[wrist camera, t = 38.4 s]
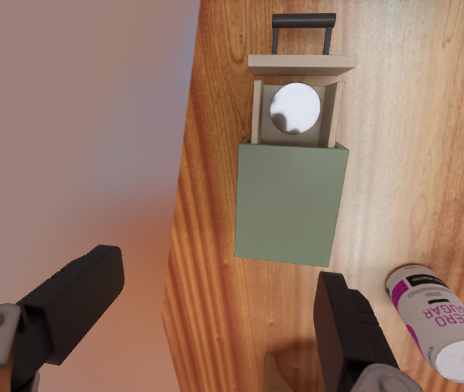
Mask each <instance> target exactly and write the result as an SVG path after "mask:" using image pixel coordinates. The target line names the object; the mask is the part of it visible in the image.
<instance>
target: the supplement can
mask: <svg viewBox="0 0 464 392" xmlns="http://www.w3.org/2000/svg"><path fill="white" fill-rule="evenodd" d="M386 291H387V294H388V296H389V298H390V299H391V301H392V303H393V305H394V306H395V308H396V310H397V312H398V313H399V315H400V317H401V319H402V320H403V322H404V324H405V326H406V327H407V329H408V331H409V332H410V334H411V336H412V338H413V339H414V341H415V343H416V345H417V346H418V348H419V350H420V352H421V353H422V355H423V357H424V358H425V360H426V362H427V363H428V364H429V365H430V366H431V367H432V368H433V369H435V370H436V371H438V372H439V373H440V374H441V375H442V376H443V377H445V378H447V379H449V380H451V381H454V382H459V383H464V304H463V303H462V302H461V301H460V300H459V299H458V297H457V296H456V295H455V294H454V293H453V292H452V291H451V290H450V289H449V288H448V287H447V286H446V285H445V283H444V282H443V281H442V280H441V279H440V278H439V277H438V276H437V275H436V274H435V273H434V272H433V271H432V270H430V269H428V268H426V267H424V266H418V265H412V266H405V267H403V268H400V269H398V270H396V271H395V272H394V273H393V274H391V275H390V277H389V279H388V280H387V283H386Z"/></svg>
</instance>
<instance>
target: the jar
mask: <svg viewBox="0 0 464 392" xmlns="http://www.w3.org/2000/svg"><path fill="white" fill-rule="evenodd" d="M320 112H321V101H320V98H319V95H318V93H317V92H316V91H315V89H314V88H312V87H311V86H310V85H308V84H306V83H302V82H292V83H289V84H286V85H284V86H283V87H281V88H280V89H279V90H278V91H277V92H276V93H275V95H274V96H273V98H272V100H271V103H270V117H271V120H272V122H273V124H274V125H275V127H276V128H277V129H278V130H280V131H281V132H283V133H285V134H289V135H298V134H302V133H304V132H306V131H308V130H309V129H311V128H312V127H313V126H314V125H315V123H316V122H317V120H318V118H319V116H320Z"/></svg>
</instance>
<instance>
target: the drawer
mask: <svg viewBox="0 0 464 392" xmlns="http://www.w3.org/2000/svg"><path fill="white" fill-rule="evenodd" d="M335 21H336V13H307V14H273V17H272V28H274V30H273V44H272V55H248V67H249V68H250V70H251V71H252V72H253V73H254V75H315V76H338V75H341V74H343V73H345V72H347V71H349V70H351V69H353V68H355V67H356V62H357V56H358V55H329V48H330V40H331V33H332V28H333V27H334V25H335ZM279 28H326V33H325V41H324V48H323V55H277V46H278V33H279ZM344 84H345V82H336V83H333V84H331V85H328V86H311V87H312V88H314V89H315V91H316V92H317V93H318V95H319V98H320V101H321V112H320V116H319V118H318V120H317V122H316V123H315V125H314V126H313V127H312V128H311V129H309V130H308V131H306V132H304V133H302V134H298V135H289V134H285V133H283V132H281V131H280V130H278V129H277V128H276V127H275V125H274V124H273V122H272V120H271V117H270V103H271V100H272V98H273V96H274V95H275V93H276V92H277V91H278V90H279V89H280V88H281V87H283V86H284V85H264V84H263V83H262V81H261V80H254V94H253V113H252V133H251V144H270V145H289V146H308V147H327V148H335V141H336V135H337V129H338V122H339V116H340V110H341V103H342V97H343V91H344Z"/></svg>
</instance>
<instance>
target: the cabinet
mask: <svg viewBox="0 0 464 392" xmlns="http://www.w3.org/2000/svg"><path fill="white" fill-rule="evenodd" d="M348 154H349V149H347V148H345V147H344V146H342V145H341V144H339V143H338V142H336V141H335V148H327V147H308V146H289V145H270V144H251V135H250V134H248V135H247V136H246V137H245V138H244V139H243V140H242V141H241V142H240V143H239V144H238V171H237V198H236V226H235V253H234V256H235V257H242V258H251V259H260V260H268V261H277V262H285V263H294V264H303V265H311V266H320V267H329V262H330V256H331V250H332V245H333V239H334V234H335V228H336V222H337V217H338V211H339V205H340V200H341V194H342V188H343V183H344V177H345V171H346V166H347V160H348Z"/></svg>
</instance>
